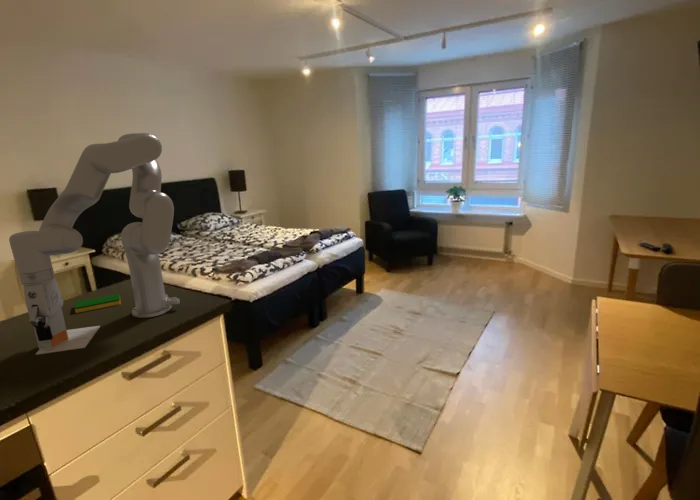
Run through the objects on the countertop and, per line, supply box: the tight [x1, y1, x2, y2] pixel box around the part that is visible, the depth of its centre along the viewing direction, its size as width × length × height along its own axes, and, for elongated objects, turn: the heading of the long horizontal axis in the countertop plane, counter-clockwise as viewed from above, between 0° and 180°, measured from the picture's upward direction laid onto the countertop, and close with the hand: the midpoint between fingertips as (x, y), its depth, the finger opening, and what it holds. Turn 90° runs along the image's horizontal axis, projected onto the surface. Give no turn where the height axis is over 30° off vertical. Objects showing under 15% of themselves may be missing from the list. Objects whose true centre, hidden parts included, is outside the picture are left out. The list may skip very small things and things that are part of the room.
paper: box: [35, 325, 101, 356], centre depth 114 cm, size 12×14×1 cm
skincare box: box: [32, 304, 69, 350], centre depth 109 cm, size 6×4×12 cm
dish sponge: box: [74, 293, 122, 314], centre depth 139 cm, size 7×14×2 cm, turn 122°
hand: (51, 333), depth 110 cm, fingers closed on skincare box, 7 cm apart
